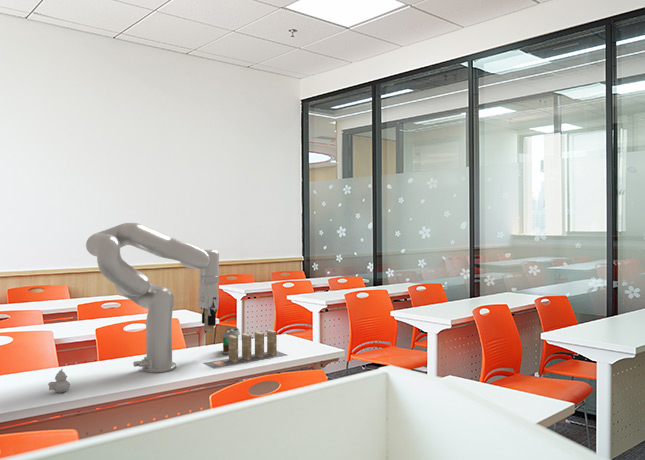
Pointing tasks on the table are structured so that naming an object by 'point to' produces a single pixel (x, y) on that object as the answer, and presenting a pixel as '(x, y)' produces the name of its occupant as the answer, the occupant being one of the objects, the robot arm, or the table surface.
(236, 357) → the domino
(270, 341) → the domino
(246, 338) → the domino
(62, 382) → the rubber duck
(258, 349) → the domino
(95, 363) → the table surface
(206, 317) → the domino
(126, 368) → the table surface
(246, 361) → the domino mat
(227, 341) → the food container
